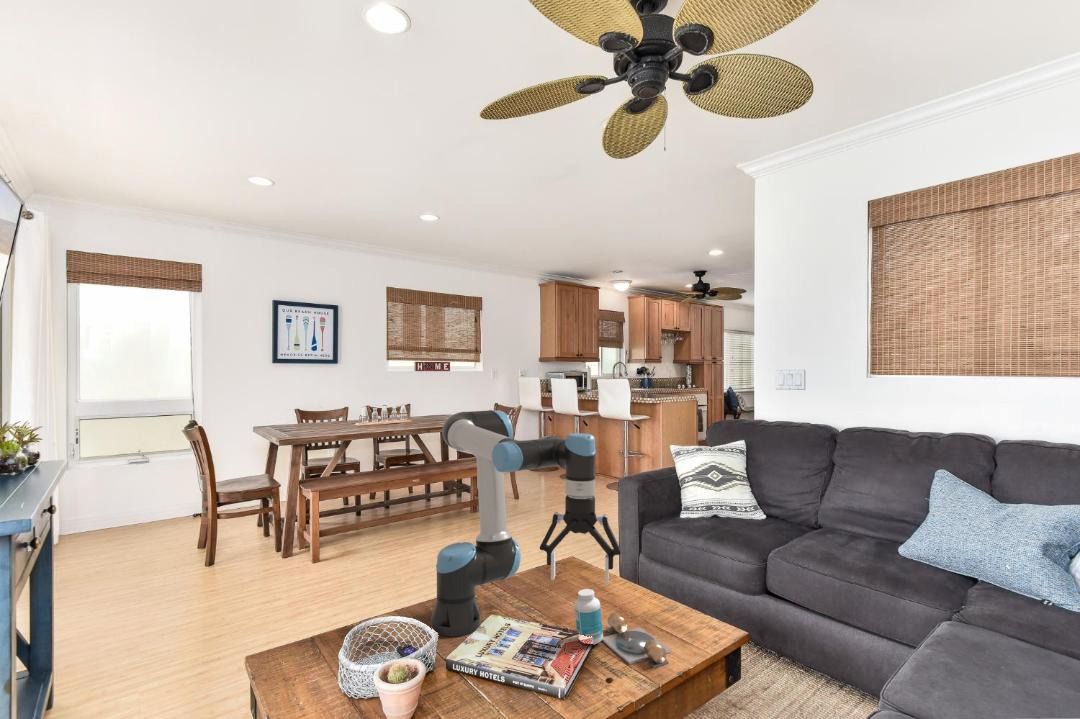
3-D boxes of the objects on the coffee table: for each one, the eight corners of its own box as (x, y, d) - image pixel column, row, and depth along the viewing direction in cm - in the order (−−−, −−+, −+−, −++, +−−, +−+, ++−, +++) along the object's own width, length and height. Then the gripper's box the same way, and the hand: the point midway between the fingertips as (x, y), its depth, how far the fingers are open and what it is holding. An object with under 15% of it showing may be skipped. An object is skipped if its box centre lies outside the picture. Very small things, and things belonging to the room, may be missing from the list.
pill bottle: (608, 637, 150) (604, 590, 150) (593, 649, 144) (588, 600, 145) (588, 630, 155) (583, 584, 155) (572, 641, 150) (568, 594, 150)
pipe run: (593, 633, 154) (593, 617, 154) (631, 623, 160) (631, 608, 160) (639, 672, 134) (639, 654, 134) (681, 659, 140) (681, 642, 140)
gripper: (529, 496, 130) (528, 582, 129) (630, 501, 126) (630, 589, 126) (534, 489, 137) (533, 570, 137) (630, 494, 133) (629, 577, 133)
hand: (579, 580), depth 131 cm, fingers open, 13 cm apart
